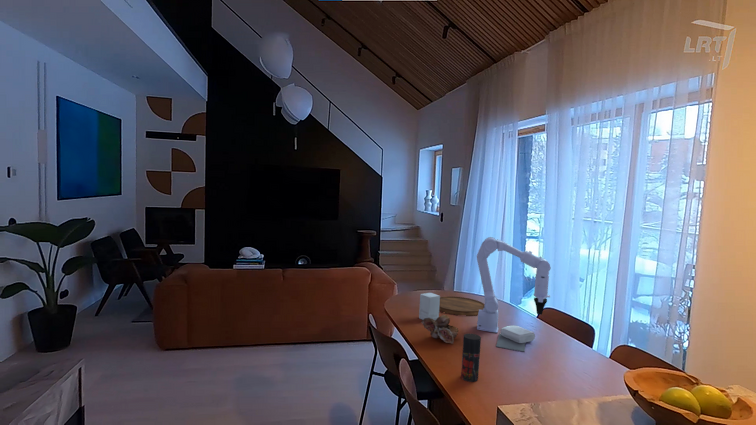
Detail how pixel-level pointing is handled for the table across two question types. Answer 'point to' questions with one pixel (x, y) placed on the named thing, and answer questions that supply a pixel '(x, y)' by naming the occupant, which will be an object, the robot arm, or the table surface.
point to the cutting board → (460, 305)
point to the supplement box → (429, 306)
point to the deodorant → (470, 357)
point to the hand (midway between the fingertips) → (539, 313)
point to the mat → (510, 344)
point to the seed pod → (441, 328)
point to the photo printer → (517, 334)
